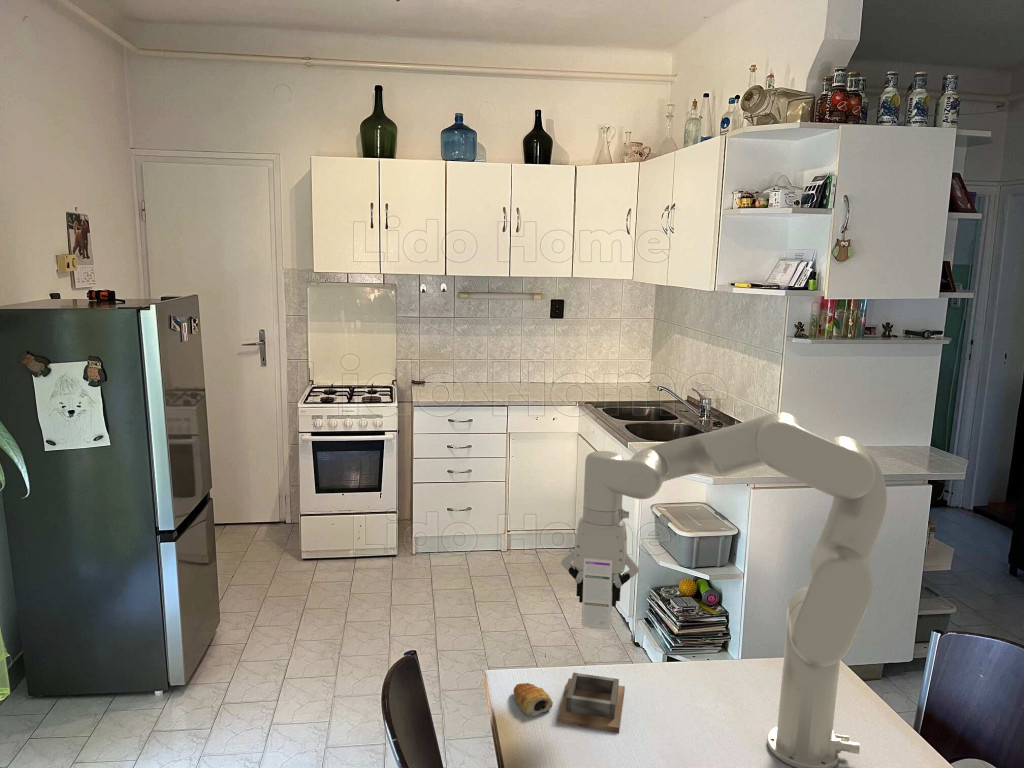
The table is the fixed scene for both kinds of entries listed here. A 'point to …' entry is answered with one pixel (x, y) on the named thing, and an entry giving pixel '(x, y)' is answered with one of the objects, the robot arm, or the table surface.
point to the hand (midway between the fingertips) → (598, 600)
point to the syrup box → (597, 593)
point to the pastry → (532, 699)
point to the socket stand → (592, 702)
